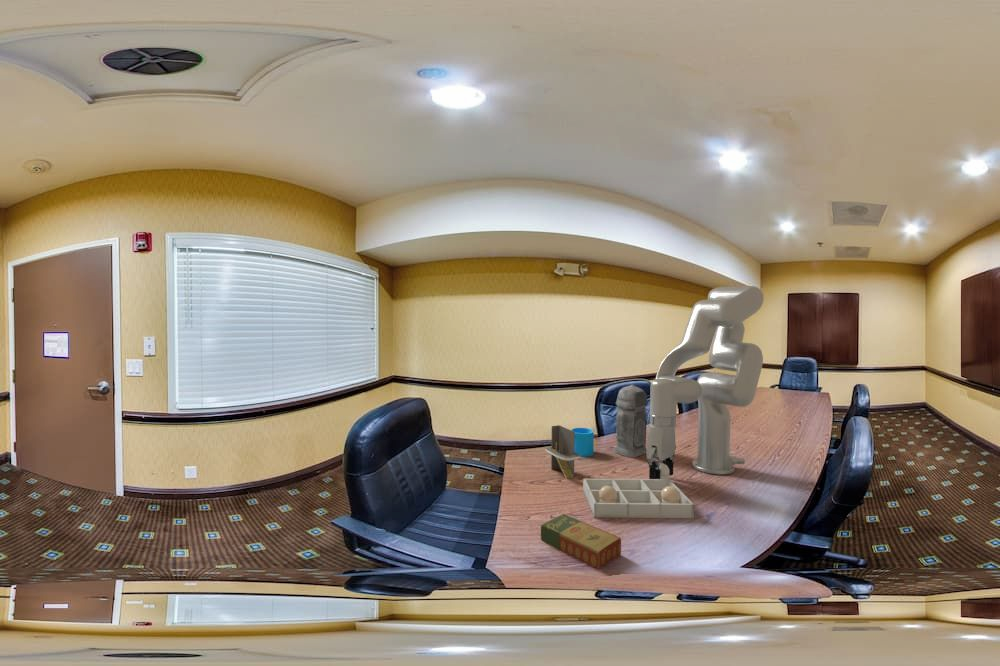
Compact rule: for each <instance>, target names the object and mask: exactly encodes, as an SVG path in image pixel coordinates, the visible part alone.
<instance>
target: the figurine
mask: <svg viewBox="0 0 1000 666" xmlns="http://www.w3.org/2000/svg"><path fill="white" fill-rule="evenodd" d="M615 405H616V406H617V410H616V420H615V425H616V426H615V432H616V436H615V439H616V446H614V448H613V452H614V453H615V454H618V455H620V456H624V457H627V458H632V459H633V458H636V457H639V456H642V455H646V452H647V425H648V423H647V422H648V421H647V420H648V419H647V418H648V417H647V416H648V411H646V407H648V406H649V401H648V396H647V393H646V391H645V390H643V389H642V388H640V387H638V386H636V385H634V384H630V385H628V386H624V387H622V388H621V389H620V390H619V391H618V393H617V398H616V401H615Z"/></svg>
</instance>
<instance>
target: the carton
mask: <svg viewBox="0 0 1000 666" xmlns="http://www.w3.org/2000/svg"><path fill="white" fill-rule="evenodd" d="M540 540H541V541H542V542H544V543H545V544H548V545H550V546H551V547H554V548H556V549H558V550H560V551H562V552H563V553H566V554H568V556H571V557H573V558H575V559H577V560H579V561H581V562H583V563H585V564H587V565H589V566H591V567H593V568H594V569H597V568H600V569H602V568H603V567H604V565H605V566H606V565H608V564H609V563H611V562H612V561H614V560H615V559H617V558H619V557H621V555H622V554H621V553H622V538H621V537H620V536H617V535H615V534H612V533H610V532H608V531H605V530H604V529H600V528H598V527H596V526H593V525H591V524H588V523H587V522H583V521H581V520H579V519H576V518H574V517H572V516H570V515H568V514H565V513H562V514H560V515H559V516H558V515H557V516H556V517H554V518H552V519H550V520H547V521H546V522H543V523H542V524H541V526H540ZM607 563H608V564H607ZM601 567H602V568H601Z"/></svg>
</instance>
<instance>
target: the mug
mask: <svg viewBox="0 0 1000 666" xmlns="http://www.w3.org/2000/svg"><path fill="white" fill-rule="evenodd" d="M570 430H572V431H574V432H575V446H574V452H575V453H577V454H579V455H580V457H592V456H593V455H594V448H595V447H594V445H595V444H594V443H595V442H594V441H595V440H594V438H595V437H594V436H595V434H594V433H595V431H594V430H593V428H592V429H591V428H588V427H574V428H571V429H570Z"/></svg>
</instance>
